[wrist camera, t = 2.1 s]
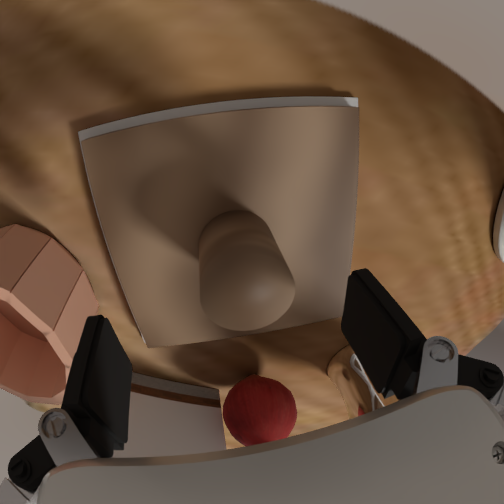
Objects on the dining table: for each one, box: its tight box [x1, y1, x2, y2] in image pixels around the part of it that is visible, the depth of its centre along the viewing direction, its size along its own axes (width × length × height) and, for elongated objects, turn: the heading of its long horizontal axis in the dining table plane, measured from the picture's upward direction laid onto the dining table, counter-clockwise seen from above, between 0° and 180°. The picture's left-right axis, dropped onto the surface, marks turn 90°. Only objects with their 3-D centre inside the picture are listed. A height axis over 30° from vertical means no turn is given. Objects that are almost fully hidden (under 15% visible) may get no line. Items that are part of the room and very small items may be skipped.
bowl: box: [0, 224, 99, 405], centre depth 14 cm, size 11×11×6 cm
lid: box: [81, 106, 359, 348], centre depth 15 cm, size 14×14×6 cm
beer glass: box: [327, 345, 398, 419], centre depth 19 cm, size 7×7×15 cm
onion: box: [223, 375, 297, 446], centre depth 21 cm, size 6×6×8 cm
